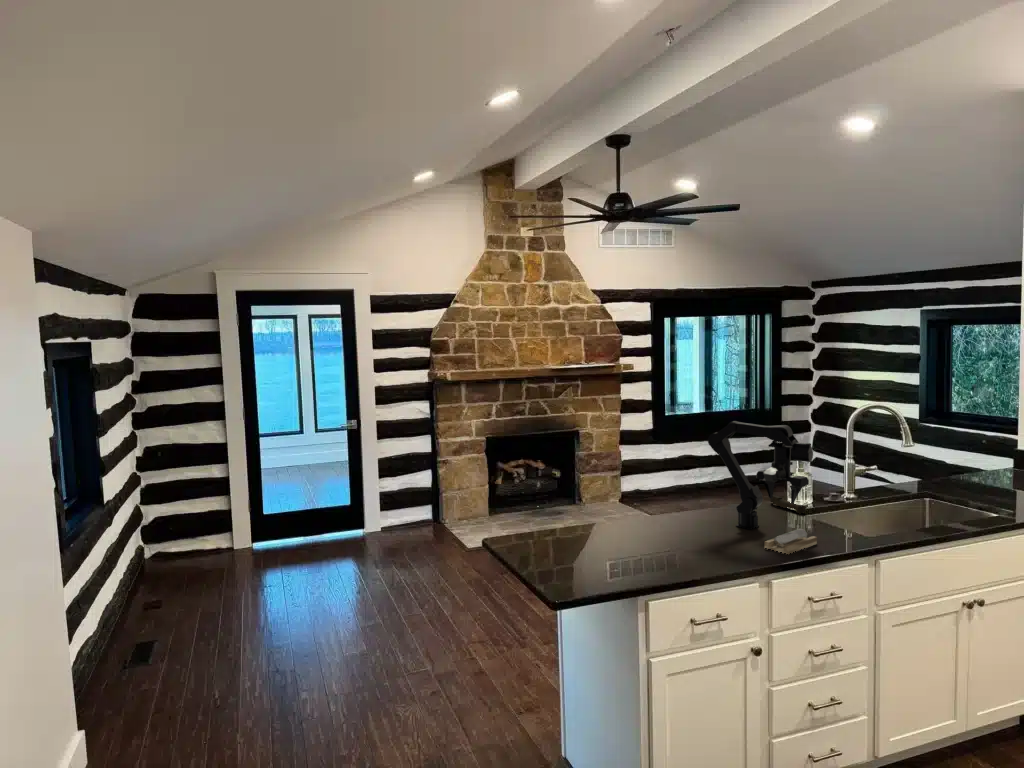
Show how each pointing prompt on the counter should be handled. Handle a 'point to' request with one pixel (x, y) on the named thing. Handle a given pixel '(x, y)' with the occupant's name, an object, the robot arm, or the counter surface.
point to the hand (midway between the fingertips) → (781, 500)
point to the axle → (790, 537)
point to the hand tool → (786, 504)
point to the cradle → (791, 545)
